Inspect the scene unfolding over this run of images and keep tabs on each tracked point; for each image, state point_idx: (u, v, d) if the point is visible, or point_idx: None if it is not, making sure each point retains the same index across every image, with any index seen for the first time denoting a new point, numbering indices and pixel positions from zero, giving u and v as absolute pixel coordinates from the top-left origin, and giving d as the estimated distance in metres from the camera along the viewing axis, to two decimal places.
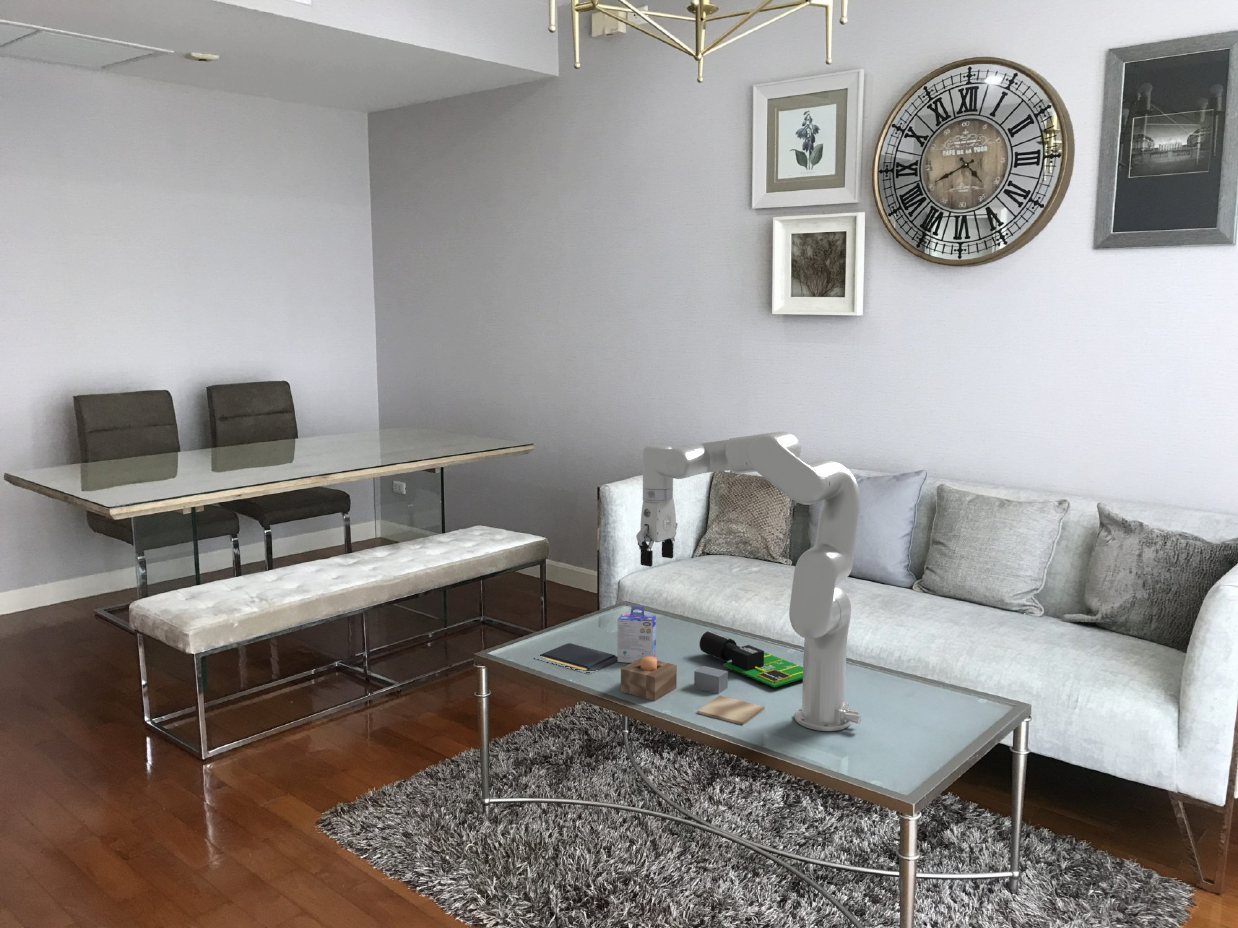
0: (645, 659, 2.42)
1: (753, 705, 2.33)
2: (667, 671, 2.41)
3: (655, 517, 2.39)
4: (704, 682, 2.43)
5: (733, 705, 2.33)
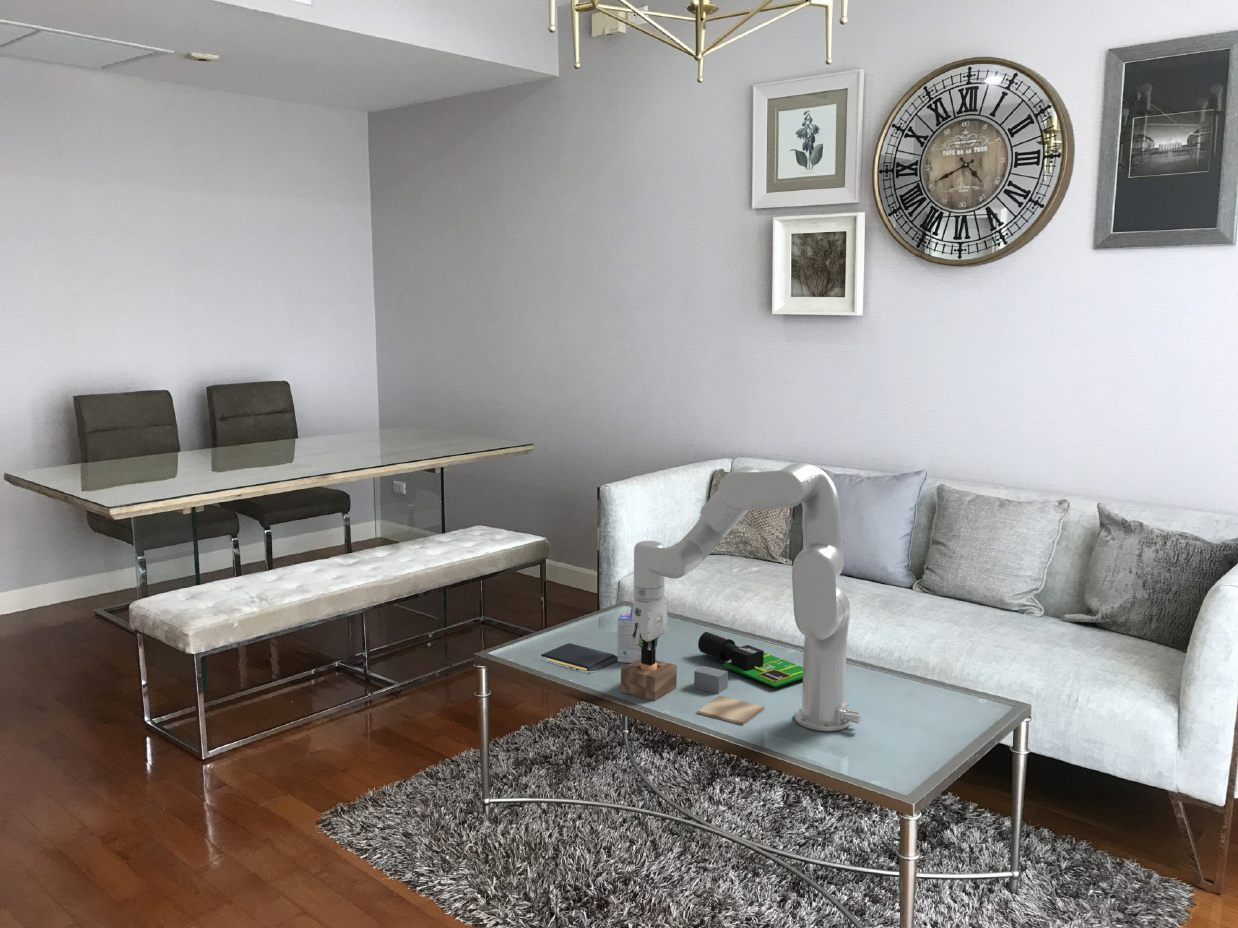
0: None
1: (753, 705, 2.33)
2: (667, 671, 2.41)
3: (646, 616, 2.36)
4: (704, 682, 2.43)
5: (733, 705, 2.33)
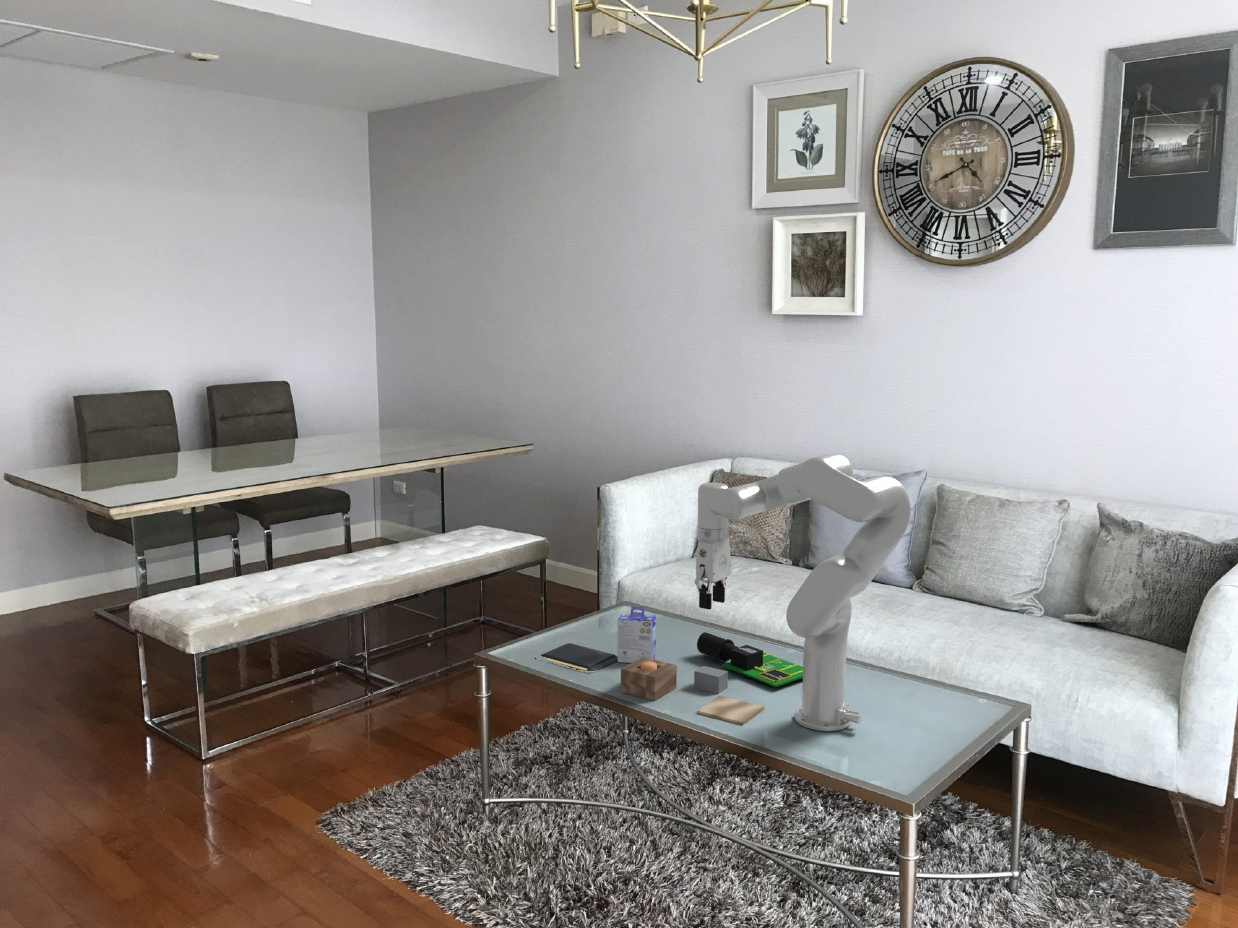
0: (645, 664, 2.43)
1: (753, 705, 2.33)
2: (667, 671, 2.41)
3: (711, 557, 2.35)
4: (704, 682, 2.43)
5: (733, 705, 2.33)
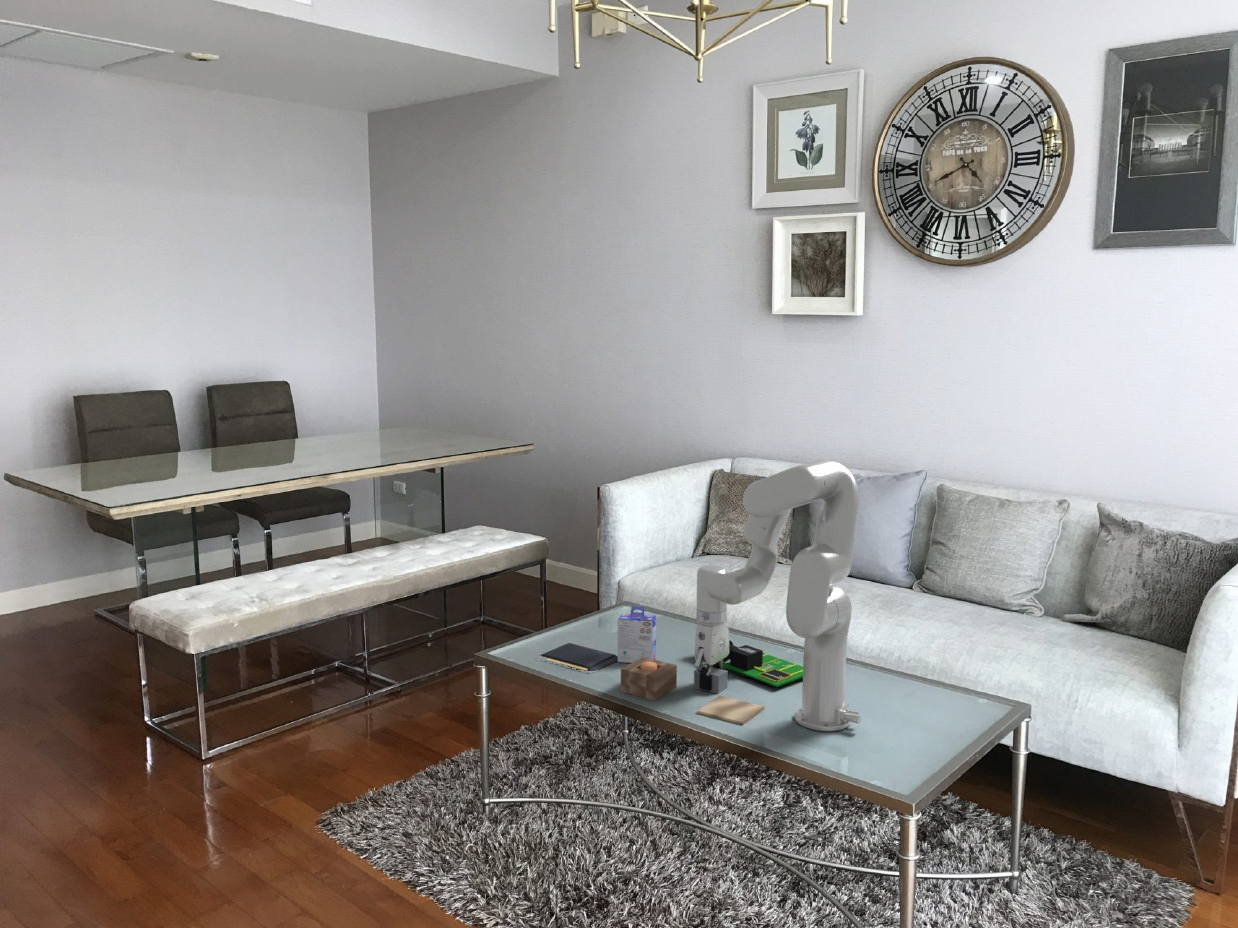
0: (645, 664, 2.43)
1: (753, 705, 2.33)
2: (667, 671, 2.41)
3: (710, 640, 2.38)
4: None
5: (733, 705, 2.33)
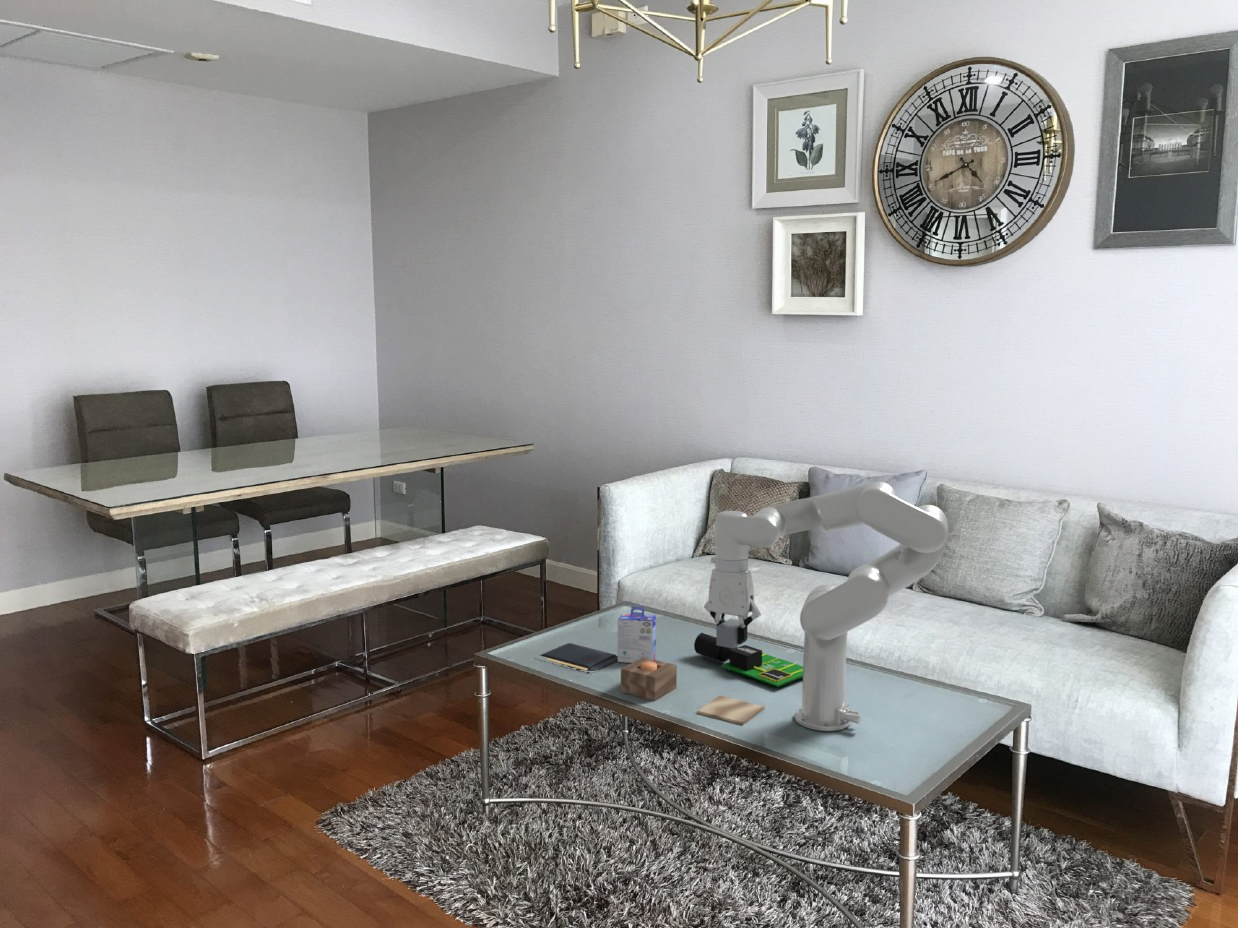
0: (645, 664, 2.43)
1: (753, 705, 2.33)
2: (667, 671, 2.41)
3: None
4: None
5: (733, 705, 2.33)
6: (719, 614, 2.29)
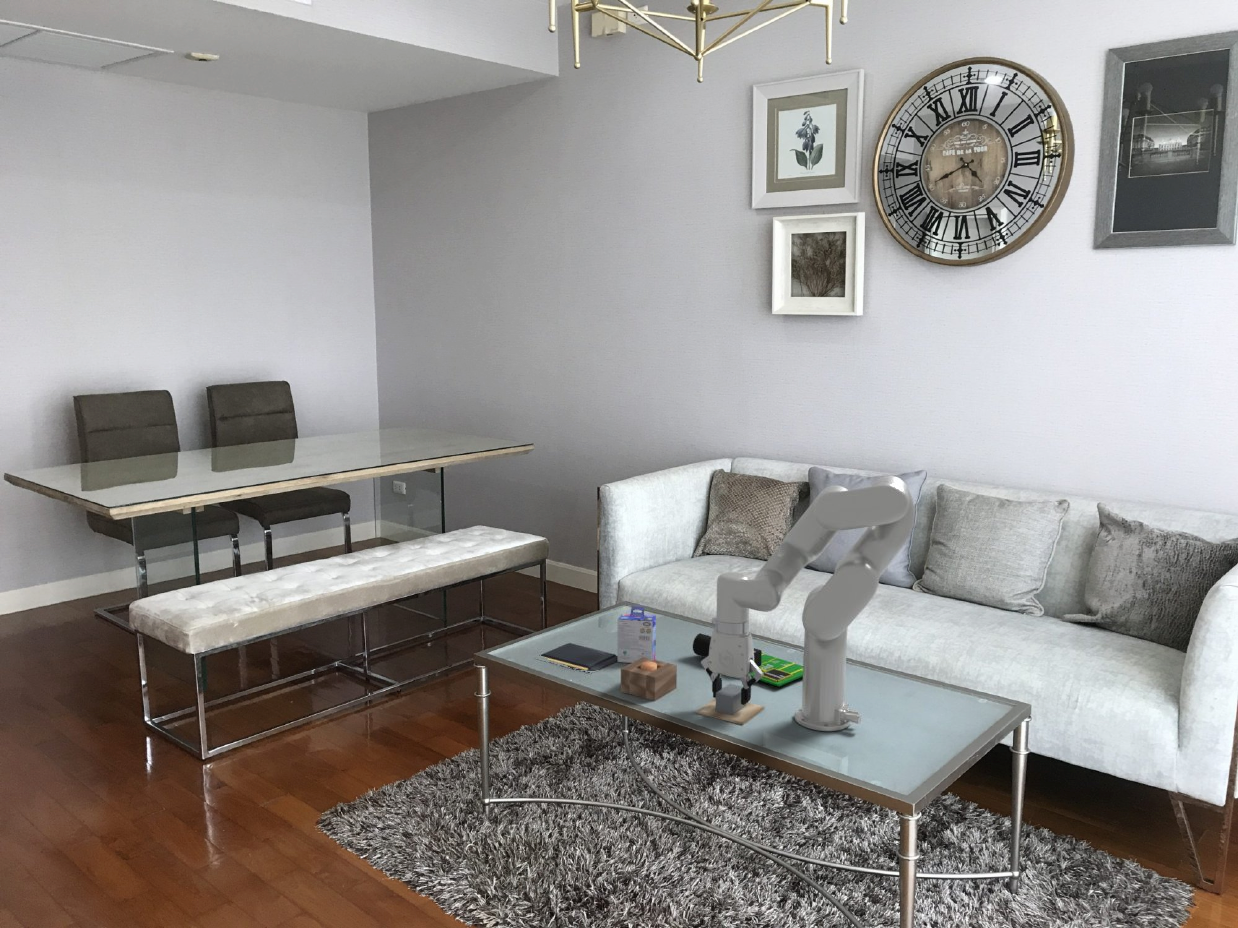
0: (645, 664, 2.43)
1: (753, 705, 2.33)
2: (667, 671, 2.41)
3: (710, 644, 2.29)
4: None
5: None
6: None
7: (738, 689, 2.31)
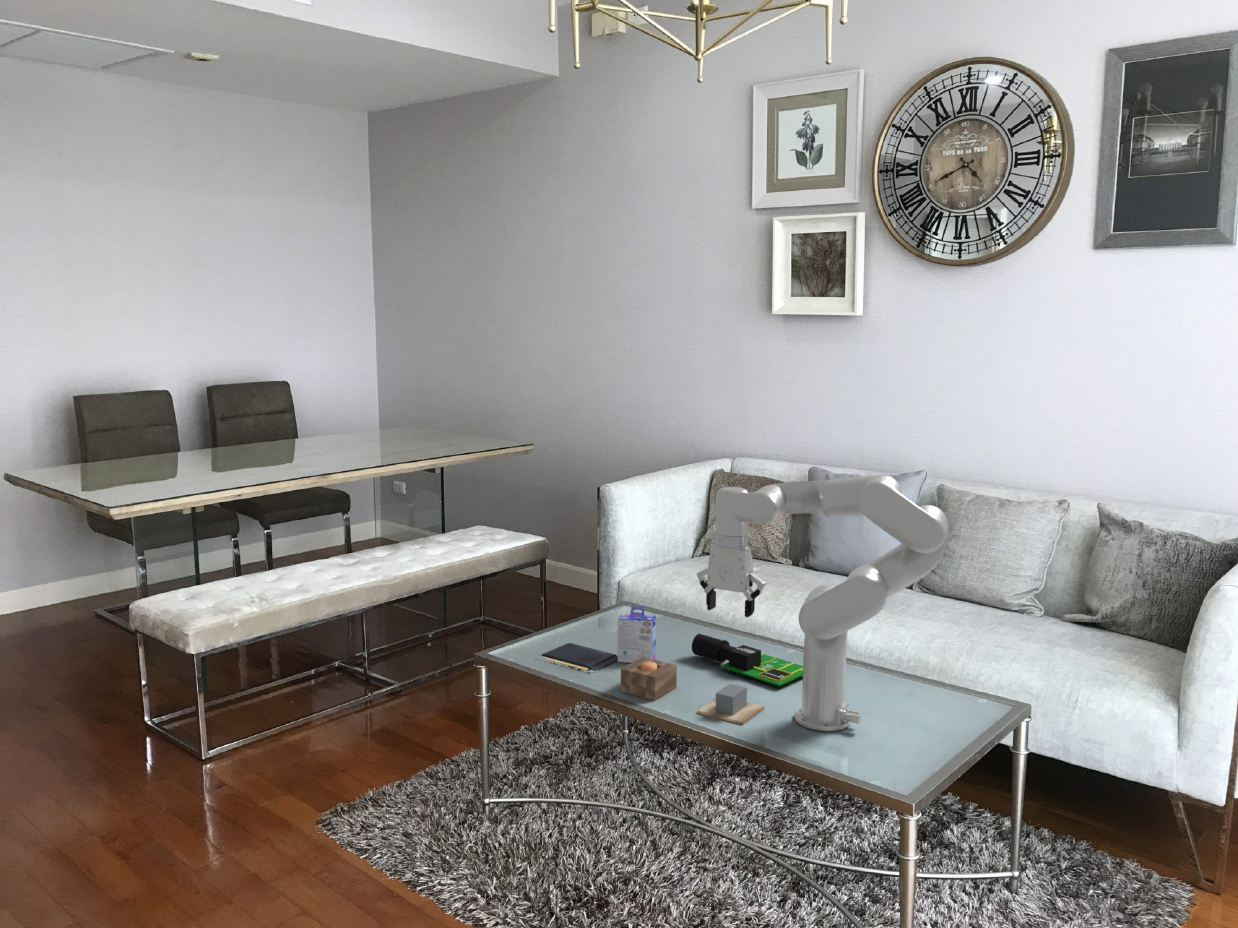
0: (645, 664, 2.43)
1: (753, 705, 2.33)
2: (667, 671, 2.41)
3: (709, 560, 2.28)
4: None
5: None
6: None
7: (738, 689, 2.31)
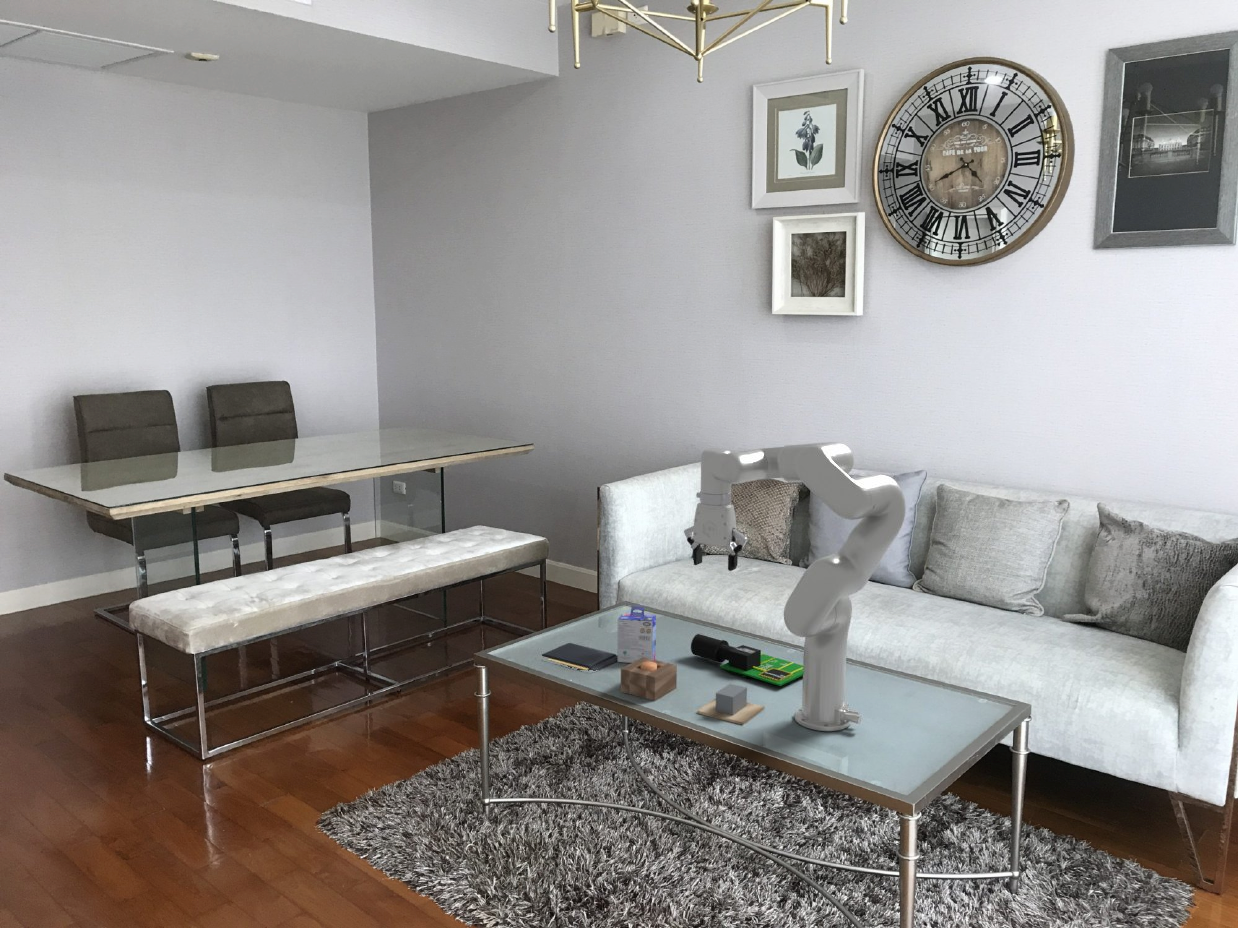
0: (645, 664, 2.43)
1: (753, 705, 2.33)
2: (667, 671, 2.41)
3: None
4: None
5: None
6: None
7: (738, 689, 2.31)
